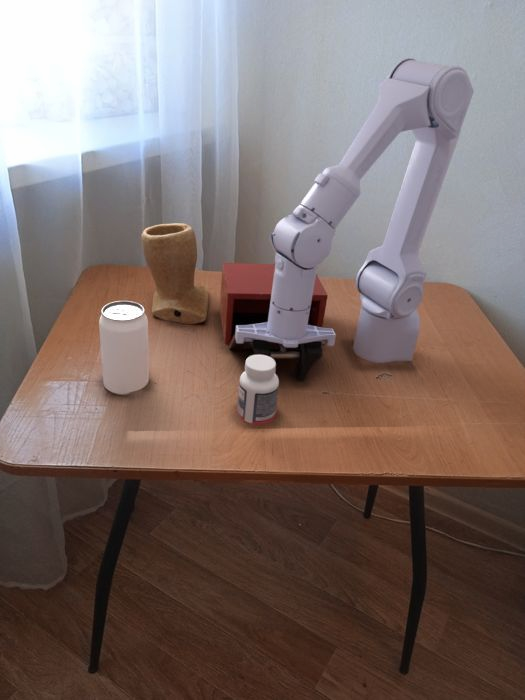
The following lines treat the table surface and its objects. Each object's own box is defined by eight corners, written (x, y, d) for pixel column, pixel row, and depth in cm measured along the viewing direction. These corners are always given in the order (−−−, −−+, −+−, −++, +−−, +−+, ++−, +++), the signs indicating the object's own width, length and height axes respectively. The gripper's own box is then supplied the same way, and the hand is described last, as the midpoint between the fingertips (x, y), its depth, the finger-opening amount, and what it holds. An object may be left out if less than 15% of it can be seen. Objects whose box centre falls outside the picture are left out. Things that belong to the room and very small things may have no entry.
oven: (305, 315, 105) (312, 265, 99) (319, 348, 95) (327, 295, 89) (219, 313, 102) (222, 262, 97) (224, 348, 92) (227, 293, 87)
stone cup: (147, 288, 109) (146, 212, 101) (209, 291, 109) (212, 217, 102) (136, 326, 96) (132, 242, 88) (206, 330, 97) (209, 247, 89)
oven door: (316, 345, 94) (331, 334, 85) (317, 366, 93) (332, 357, 85) (228, 345, 91) (234, 333, 83) (228, 367, 91) (234, 357, 82)
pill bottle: (280, 412, 79) (287, 359, 74) (265, 433, 74) (271, 378, 70) (247, 400, 80) (251, 347, 76) (230, 420, 76) (234, 365, 72)
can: (139, 400, 78) (136, 325, 72) (95, 391, 79) (89, 316, 73) (155, 375, 84) (154, 303, 77) (114, 367, 84) (110, 296, 78)
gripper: (243, 313, 74) (233, 397, 81) (347, 317, 77) (330, 398, 83) (237, 291, 80) (229, 371, 87) (334, 295, 83) (319, 373, 89)
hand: (278, 383), depth 85 cm, fingers closed on oven door, 4 cm apart
